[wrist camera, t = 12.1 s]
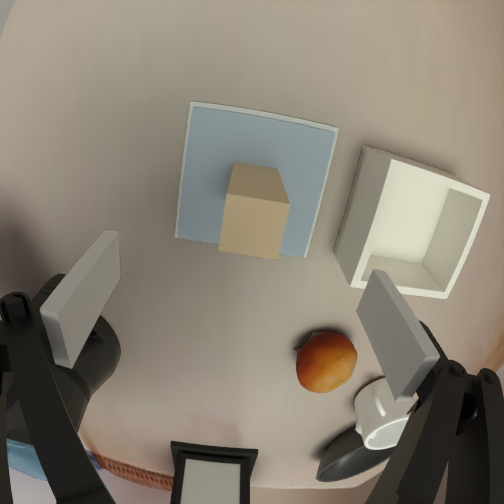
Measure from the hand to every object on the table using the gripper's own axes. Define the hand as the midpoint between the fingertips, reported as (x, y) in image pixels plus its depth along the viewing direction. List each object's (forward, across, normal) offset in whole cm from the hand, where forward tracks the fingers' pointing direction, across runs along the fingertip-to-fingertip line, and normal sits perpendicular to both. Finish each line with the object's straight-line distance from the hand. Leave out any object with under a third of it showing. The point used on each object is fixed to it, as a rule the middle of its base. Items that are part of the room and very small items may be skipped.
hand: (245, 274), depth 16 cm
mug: (+17, +27, -29) cm, 43 cm away
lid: (+16, +1, 0) cm, 16 cm away
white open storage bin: (+17, +17, 0) cm, 24 cm away
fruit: (+17, +14, -20) cm, 29 cm away
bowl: (+17, +30, -45) cm, 56 cm away
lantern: (+18, +3, -60) cm, 62 cm away
